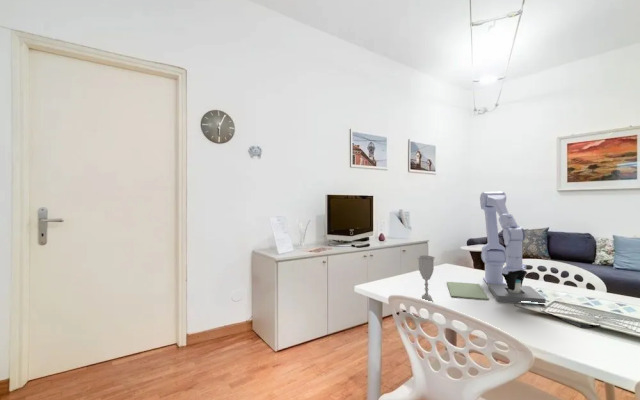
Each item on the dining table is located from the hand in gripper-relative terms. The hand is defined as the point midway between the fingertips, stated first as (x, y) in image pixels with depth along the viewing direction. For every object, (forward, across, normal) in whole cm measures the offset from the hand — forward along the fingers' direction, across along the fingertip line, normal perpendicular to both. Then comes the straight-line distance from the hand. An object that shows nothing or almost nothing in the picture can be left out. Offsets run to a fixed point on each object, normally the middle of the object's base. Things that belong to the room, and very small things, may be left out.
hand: (514, 288), depth 121 cm
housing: (+3, 0, 0) cm, 3 cm away
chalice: (+4, -34, +16) cm, 38 cm away
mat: (+3, -10, +15) cm, 19 cm away
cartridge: (+3, 0, 0) cm, 3 cm away
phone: (+4, -6, -20) cm, 22 cm away
